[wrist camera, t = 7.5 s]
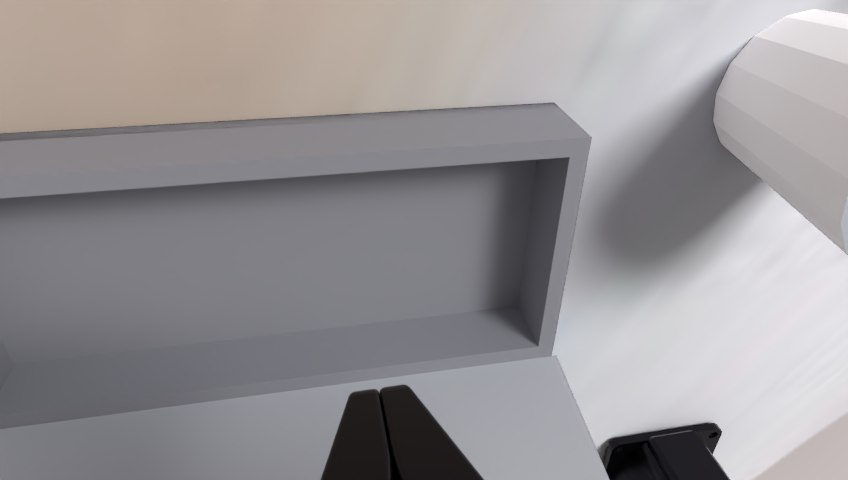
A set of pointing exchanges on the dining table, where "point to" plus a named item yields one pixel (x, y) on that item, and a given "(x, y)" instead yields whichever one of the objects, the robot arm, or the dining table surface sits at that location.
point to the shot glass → (793, 115)
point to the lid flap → (318, 432)
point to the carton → (278, 254)
